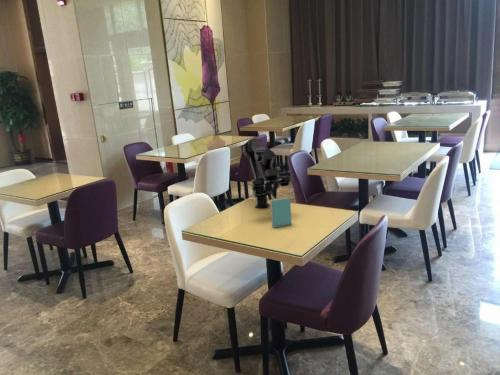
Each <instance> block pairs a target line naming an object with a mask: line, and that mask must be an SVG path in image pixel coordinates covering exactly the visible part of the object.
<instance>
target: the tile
mask: <svg viewBox="0 0 500 375" xmlns="http://www.w3.org/2000/svg"><path fill="white" fill-rule="evenodd" d="M269 204H270V213H271V215H270V216H271V217H270V218H271V227H272V228H274V229H275V228H280V227H284V226H285V227H286V226H291V225H292V207H291V206H292V205H291V197H289V196H288V197H287V196H286V197H279V198H273V199H272V198H271V199H270V200H269ZM292 226H293V225H292Z"/></svg>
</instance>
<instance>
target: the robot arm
mask: <svg viewBox="0 0 500 375" xmlns="http://www.w3.org/2000/svg"><path fill="white" fill-rule="evenodd" d="M242 152H243V154H244V157H245V158H246V159H247V160H248V161H249V163H250V167H251V170H252V173H253V177H254V180H252V183H251V189H252V195H253V197H254V198H256V205H255V206H254V208H258V209H260V208H261V209H267V208H268V207H269V206H271V204H270V202H269V203H268V196H271V197H272V198H273V199H277V193H278V189H279V187H280V186H281V187H288V186H289V185H290V184H291V183H290V182H291V180H292V179H291V177H290V175H282V176H281V177H280V179H277V178H278V175H279V174H282V170H281V167H280V166H276V167H275V168H274V167H273V163H274V160H275V156H276V154H275V152H274V151H273V150H271V149H270V147H263V146H262V145H261V143H260V142H259V140H258V139H257V138H251V139H248V141H247V142H246V143H244V144H243V146H242Z"/></svg>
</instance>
